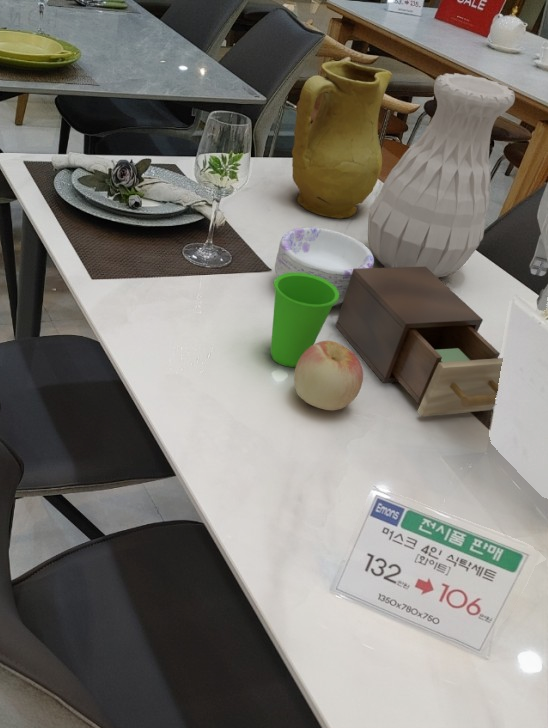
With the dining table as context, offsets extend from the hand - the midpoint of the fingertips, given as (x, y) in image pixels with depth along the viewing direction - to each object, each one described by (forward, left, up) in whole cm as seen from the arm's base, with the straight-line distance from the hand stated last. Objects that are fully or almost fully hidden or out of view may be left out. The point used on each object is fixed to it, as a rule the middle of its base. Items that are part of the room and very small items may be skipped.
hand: (539, 289), depth 89 cm
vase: (-18, -46, -21) cm, 54 cm away
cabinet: (0, -20, -21) cm, 29 cm away
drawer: (0, -8, -20) cm, 22 cm away
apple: (+18, -9, -21) cm, 29 cm away
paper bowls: (+5, -38, -21) cm, 44 cm away
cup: (+18, -20, -21) cm, 34 cm away
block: (0, -8, -19) cm, 21 cm away
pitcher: (-13, -73, -21) cm, 77 cm away
